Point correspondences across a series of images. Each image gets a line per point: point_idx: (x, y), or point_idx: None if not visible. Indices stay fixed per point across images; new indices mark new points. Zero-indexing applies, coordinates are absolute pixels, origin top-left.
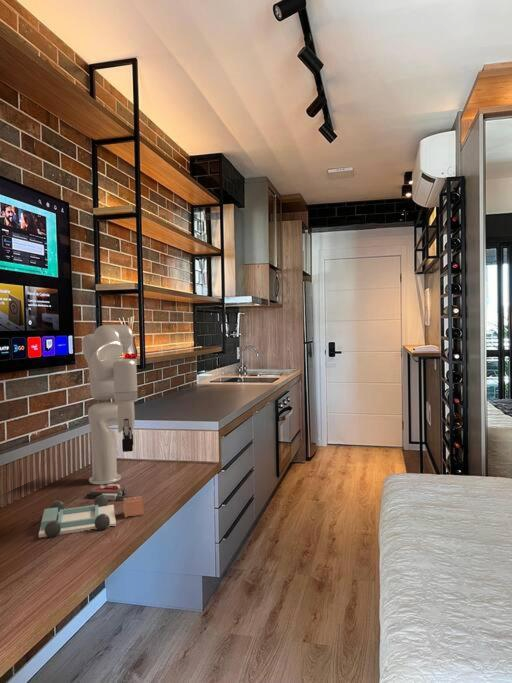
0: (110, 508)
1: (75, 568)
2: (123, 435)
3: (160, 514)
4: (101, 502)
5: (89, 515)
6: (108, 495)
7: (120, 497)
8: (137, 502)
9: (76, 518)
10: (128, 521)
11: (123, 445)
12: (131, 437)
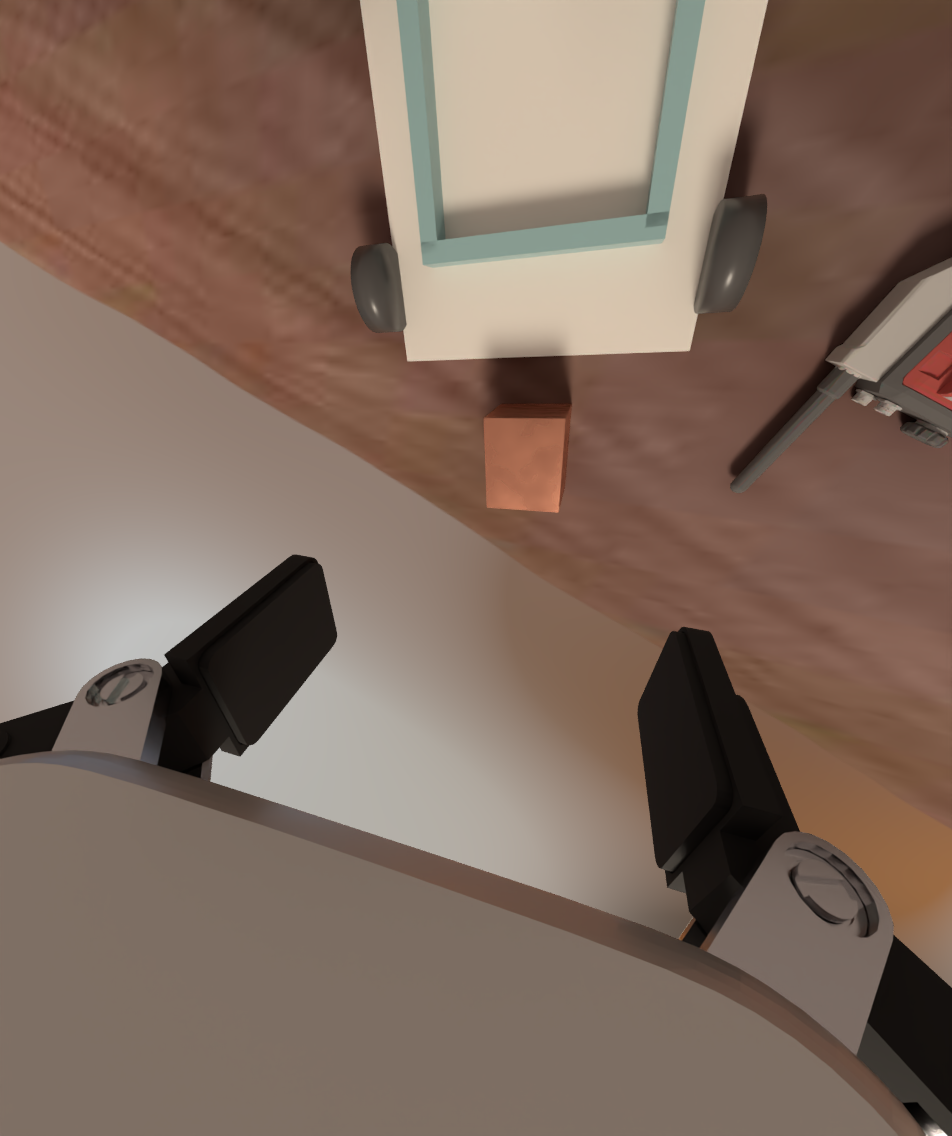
0: (627, 331)
1: (86, 202)
2: (76, 728)
3: (487, 538)
4: (707, 262)
5: (564, 184)
6: (890, 311)
7: (809, 399)
8: (487, 480)
9: (546, 73)
10: (454, 417)
11: (245, 605)
12: (205, 762)
